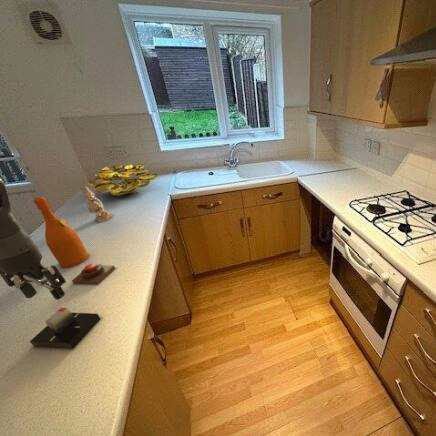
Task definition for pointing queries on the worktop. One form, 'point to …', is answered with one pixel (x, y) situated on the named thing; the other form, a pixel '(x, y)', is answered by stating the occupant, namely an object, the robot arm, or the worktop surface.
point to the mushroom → (118, 188)
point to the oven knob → (60, 320)
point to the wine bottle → (61, 237)
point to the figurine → (96, 206)
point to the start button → (90, 268)
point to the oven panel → (67, 332)
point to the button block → (94, 275)
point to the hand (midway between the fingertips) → (46, 296)
